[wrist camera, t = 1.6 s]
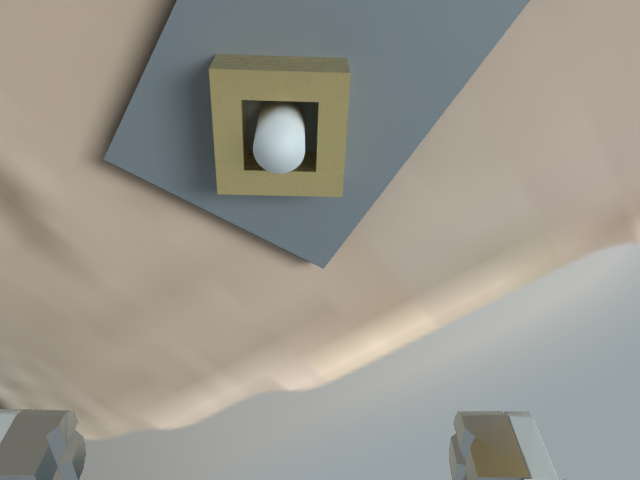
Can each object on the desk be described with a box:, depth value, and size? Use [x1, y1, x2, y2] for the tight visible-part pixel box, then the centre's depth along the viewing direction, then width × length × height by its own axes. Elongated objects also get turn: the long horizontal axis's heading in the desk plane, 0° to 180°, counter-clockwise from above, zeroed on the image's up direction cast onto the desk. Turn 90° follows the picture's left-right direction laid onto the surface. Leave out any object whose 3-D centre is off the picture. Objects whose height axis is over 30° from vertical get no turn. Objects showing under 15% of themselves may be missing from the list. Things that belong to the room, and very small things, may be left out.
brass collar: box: [209, 54, 351, 197], centre depth 28 cm, size 6×6×2 cm
